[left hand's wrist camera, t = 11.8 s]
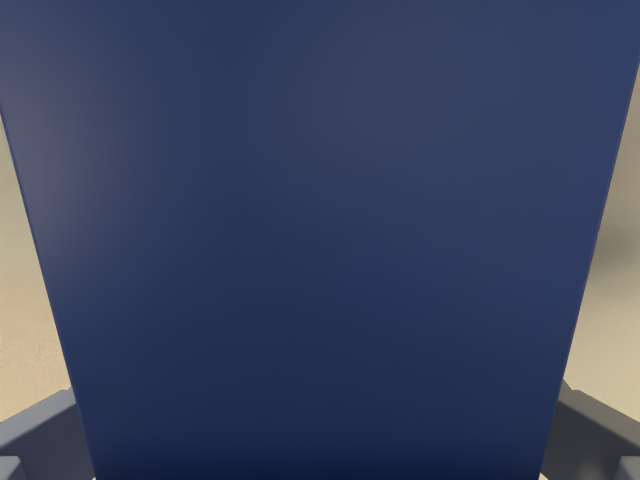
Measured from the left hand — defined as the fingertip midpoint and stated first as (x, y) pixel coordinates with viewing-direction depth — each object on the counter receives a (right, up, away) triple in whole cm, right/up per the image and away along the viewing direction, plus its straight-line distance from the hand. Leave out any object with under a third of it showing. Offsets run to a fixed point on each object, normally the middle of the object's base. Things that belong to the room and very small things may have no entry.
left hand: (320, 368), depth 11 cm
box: (0, +10, +5) cm, 11 cm away
